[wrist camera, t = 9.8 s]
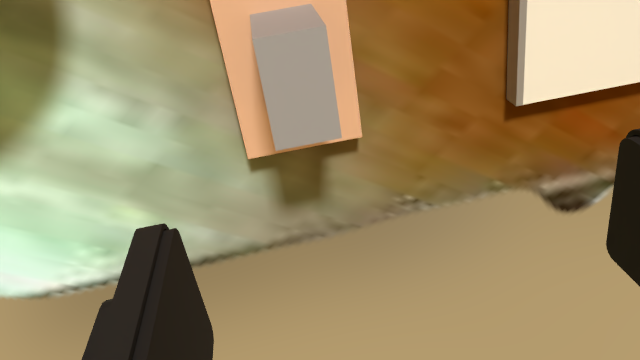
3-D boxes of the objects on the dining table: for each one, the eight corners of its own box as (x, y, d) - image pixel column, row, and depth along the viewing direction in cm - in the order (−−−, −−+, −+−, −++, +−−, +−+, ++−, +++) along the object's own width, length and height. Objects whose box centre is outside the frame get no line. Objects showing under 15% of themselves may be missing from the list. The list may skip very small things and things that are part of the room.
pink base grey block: (334, -61, 25) (360, -49, 20) (357, 128, 30) (383, 179, 25) (202, -37, 25) (193, -19, 20) (247, 150, 30) (249, 205, 25)
